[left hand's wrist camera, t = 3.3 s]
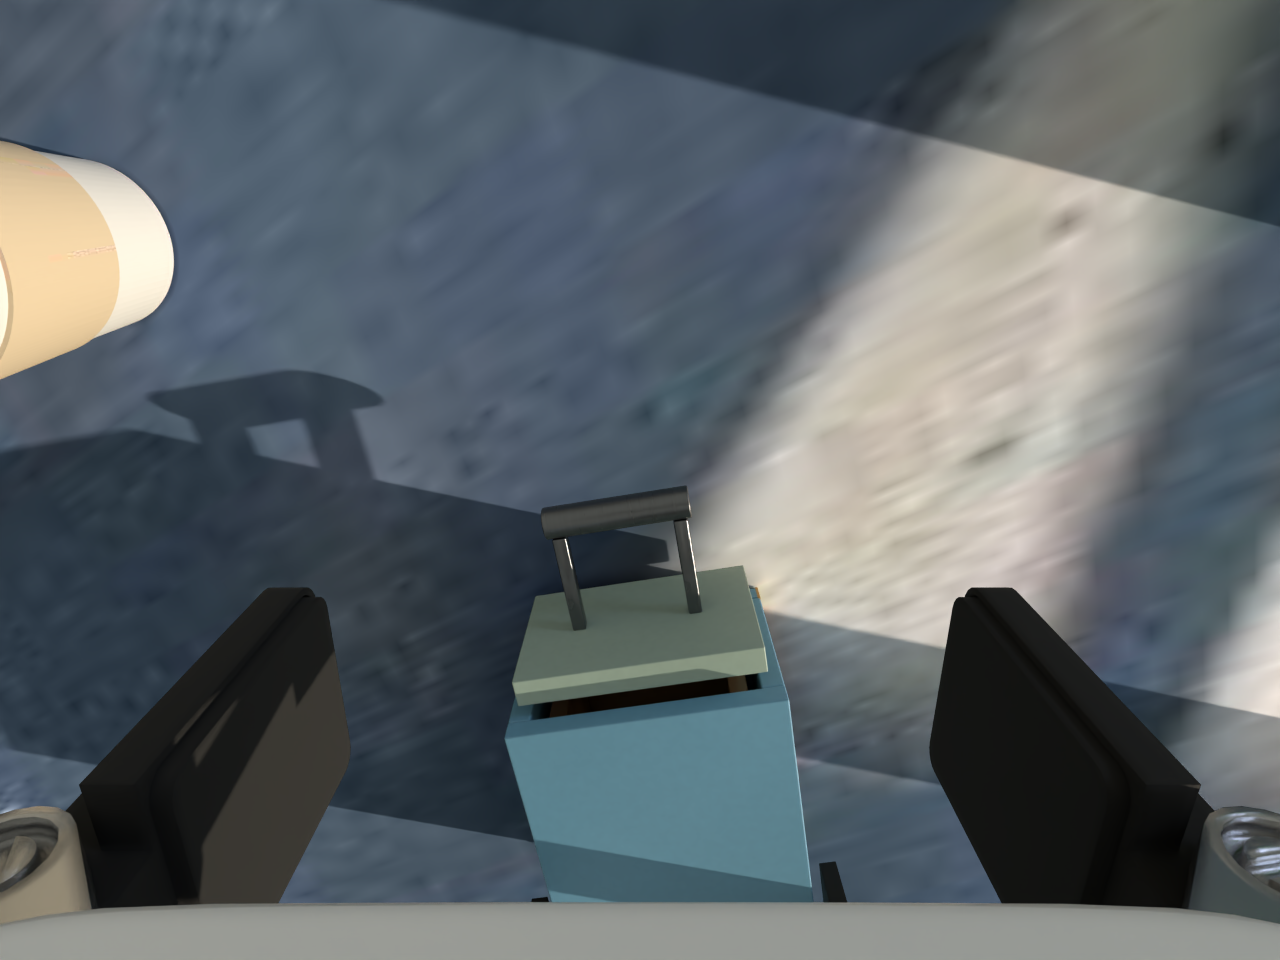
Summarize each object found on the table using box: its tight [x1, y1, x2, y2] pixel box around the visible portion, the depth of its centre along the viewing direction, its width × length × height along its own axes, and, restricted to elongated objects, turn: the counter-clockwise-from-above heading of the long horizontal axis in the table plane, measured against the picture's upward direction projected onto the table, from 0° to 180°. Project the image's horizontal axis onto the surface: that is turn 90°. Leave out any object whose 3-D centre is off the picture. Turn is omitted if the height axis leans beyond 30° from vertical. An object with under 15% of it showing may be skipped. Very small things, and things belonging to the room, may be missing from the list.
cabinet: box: [504, 587, 813, 902], centre depth 37 cm, size 16×12×9 cm
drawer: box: [512, 486, 768, 718], centre depth 35 cm, size 21×10×7 cm, turn 10°
